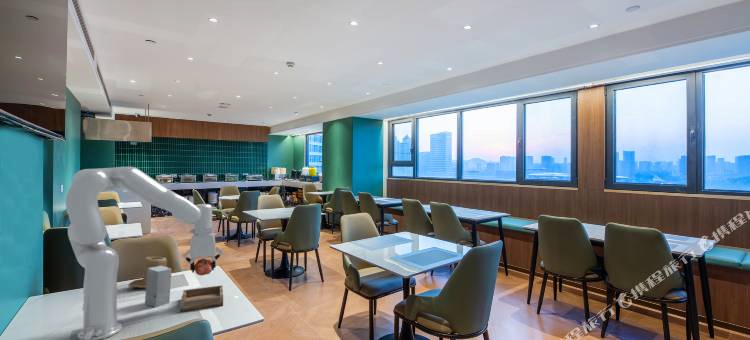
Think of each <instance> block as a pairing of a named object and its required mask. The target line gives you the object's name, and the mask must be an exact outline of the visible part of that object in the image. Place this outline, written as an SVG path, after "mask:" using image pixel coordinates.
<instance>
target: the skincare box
mask: <svg viewBox="0 0 750 340" xmlns="http://www.w3.org/2000/svg"><path fill="white" fill-rule="evenodd" d="M171 282H172V268H170V267H168V266H166V267H164V266H157V267H152V268H148V269H147V283H146V288H145V296H144V297H145V298H144V305H149V306H151V307H154V308H158V307H160V306H164V305H166V304H169V303H170V298H171V286H172V285H171V284H172V283H171Z"/></svg>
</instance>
